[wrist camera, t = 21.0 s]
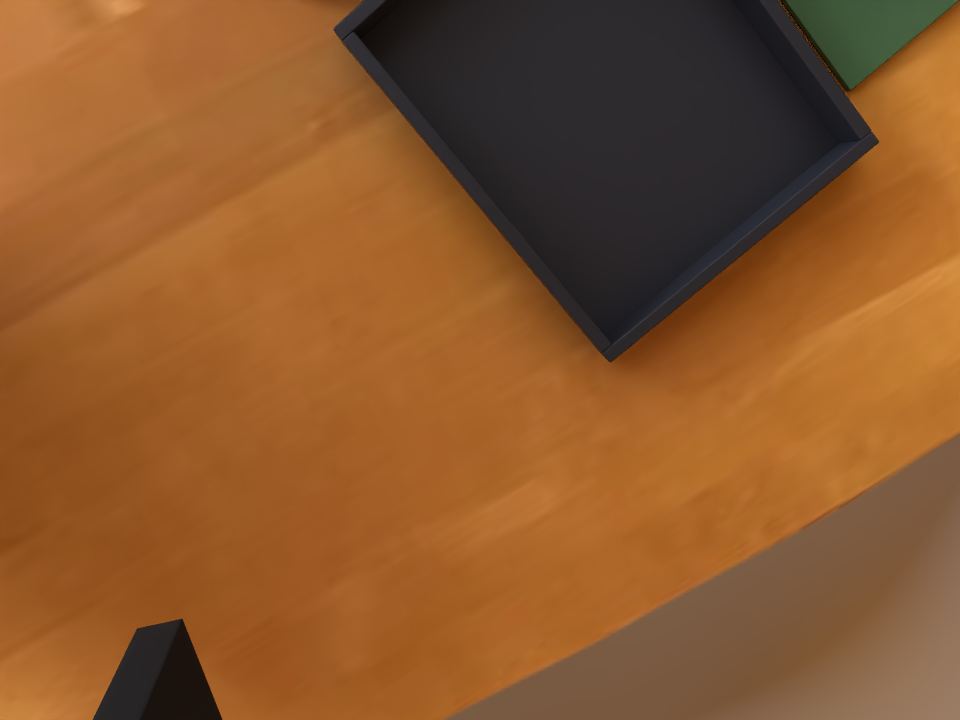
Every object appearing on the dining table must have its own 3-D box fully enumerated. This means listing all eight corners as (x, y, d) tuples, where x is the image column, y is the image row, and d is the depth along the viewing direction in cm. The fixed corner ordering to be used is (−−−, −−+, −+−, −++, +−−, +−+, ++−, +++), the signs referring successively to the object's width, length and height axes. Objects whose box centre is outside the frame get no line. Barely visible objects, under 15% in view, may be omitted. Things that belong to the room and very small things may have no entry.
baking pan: (340, 40, 37) (332, 28, 34) (602, -197, 36) (614, -226, 33) (600, 353, 40) (610, 363, 37) (853, 145, 38) (880, 141, 36)
